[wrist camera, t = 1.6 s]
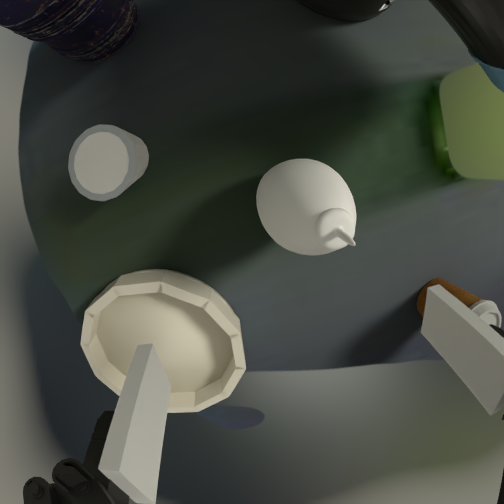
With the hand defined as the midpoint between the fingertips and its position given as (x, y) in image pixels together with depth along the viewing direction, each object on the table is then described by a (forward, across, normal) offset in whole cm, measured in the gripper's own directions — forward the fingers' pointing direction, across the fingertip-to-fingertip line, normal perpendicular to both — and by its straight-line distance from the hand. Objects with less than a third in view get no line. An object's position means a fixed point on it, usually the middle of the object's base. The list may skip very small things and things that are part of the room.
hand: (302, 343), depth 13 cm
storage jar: (+22, -14, +27) cm, 37 cm away
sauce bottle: (+22, +4, +3) cm, 22 cm away
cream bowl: (+21, -14, -13) cm, 29 cm away
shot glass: (+22, -13, +10) cm, 27 cm away
